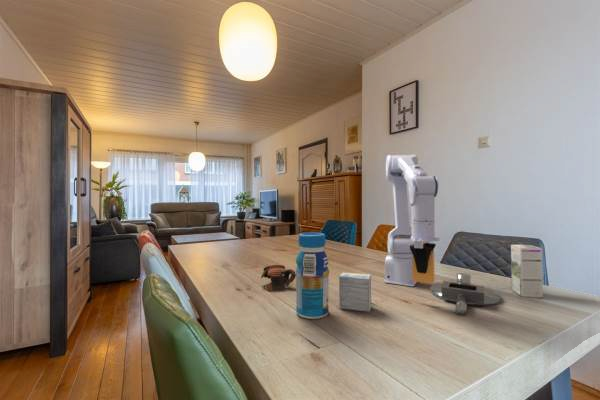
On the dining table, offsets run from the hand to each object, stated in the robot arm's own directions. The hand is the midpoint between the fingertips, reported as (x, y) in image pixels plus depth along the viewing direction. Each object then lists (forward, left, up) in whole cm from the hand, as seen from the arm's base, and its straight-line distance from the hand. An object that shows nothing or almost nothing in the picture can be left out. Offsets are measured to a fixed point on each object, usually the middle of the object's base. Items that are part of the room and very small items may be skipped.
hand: (422, 271), depth 77 cm
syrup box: (+25, +25, -9) cm, 37 cm away
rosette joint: (+9, +11, -9) cm, 17 cm away
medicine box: (-15, -11, -9) cm, 21 cm away
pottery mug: (-43, -7, -10) cm, 45 cm away
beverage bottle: (-23, -20, -9) cm, 32 cm away
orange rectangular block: (0, 0, -3) cm, 3 cm away
